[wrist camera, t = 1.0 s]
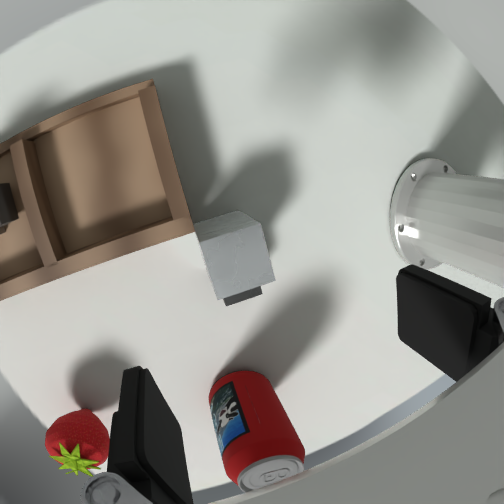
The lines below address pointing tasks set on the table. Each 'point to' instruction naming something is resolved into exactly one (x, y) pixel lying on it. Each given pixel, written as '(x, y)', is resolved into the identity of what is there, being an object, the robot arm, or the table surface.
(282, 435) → the beverage can
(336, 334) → the table surface
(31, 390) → the table surface
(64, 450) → the strawberry
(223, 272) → the grey block
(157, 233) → the wooden divided tray
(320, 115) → the table surface
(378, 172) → the table surface
